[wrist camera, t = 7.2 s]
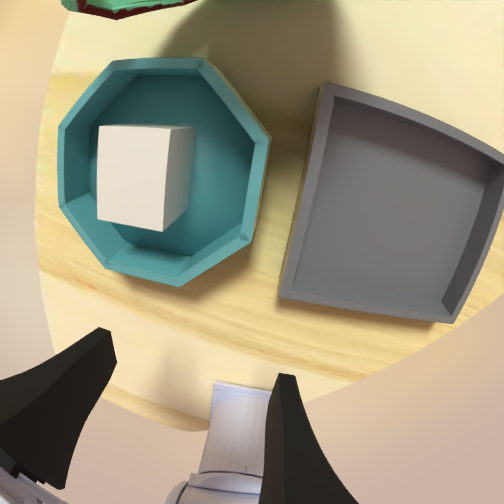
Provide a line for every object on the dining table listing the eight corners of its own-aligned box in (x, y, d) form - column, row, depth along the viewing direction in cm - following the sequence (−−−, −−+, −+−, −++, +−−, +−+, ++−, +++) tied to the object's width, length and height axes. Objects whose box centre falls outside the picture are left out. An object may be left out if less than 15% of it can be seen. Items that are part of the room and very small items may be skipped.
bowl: (248, 272, 20) (240, 300, 17) (89, 238, 20) (64, 257, 17) (283, 77, 14) (282, 65, 11) (95, 71, 15) (65, 68, 12)
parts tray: (440, 304, 19) (453, 324, 17) (279, 276, 19) (278, 296, 17) (494, 155, 14) (515, 161, 11) (319, 87, 14) (324, 81, 12)
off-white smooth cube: (187, 208, 17) (162, 231, 14) (131, 199, 18) (97, 219, 14) (196, 127, 15) (170, 129, 12) (136, 122, 15) (99, 126, 12)
